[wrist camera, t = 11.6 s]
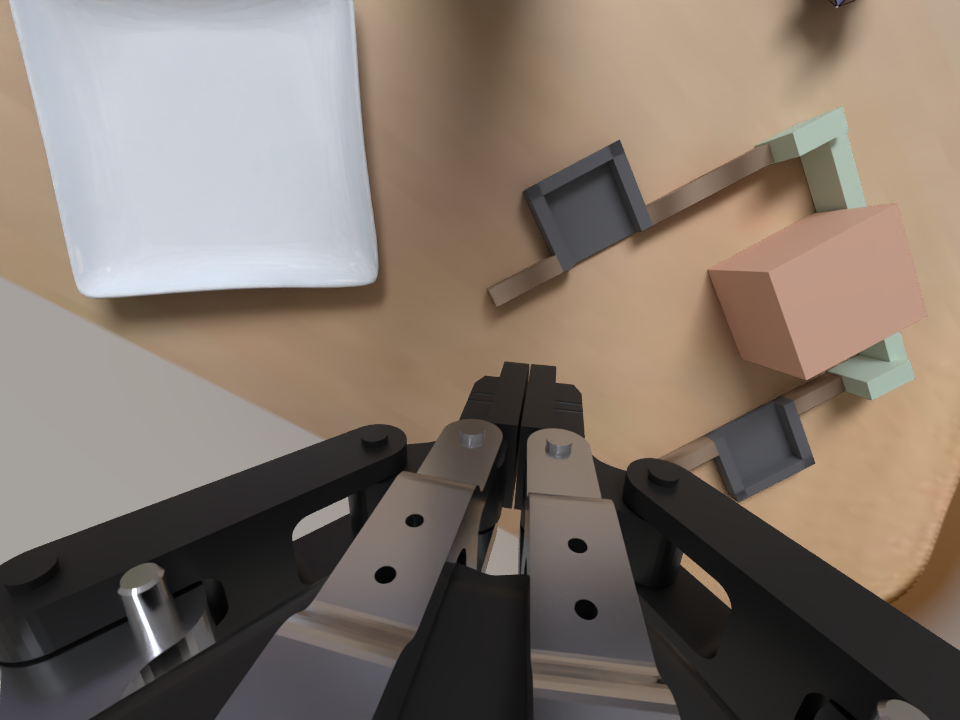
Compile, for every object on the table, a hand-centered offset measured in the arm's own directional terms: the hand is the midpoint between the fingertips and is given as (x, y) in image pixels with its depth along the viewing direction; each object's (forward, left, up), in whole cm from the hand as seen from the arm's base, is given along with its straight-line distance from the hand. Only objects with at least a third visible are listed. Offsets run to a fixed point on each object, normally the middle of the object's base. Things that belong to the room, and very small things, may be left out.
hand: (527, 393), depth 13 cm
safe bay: (-20, +24, -25) cm, 40 cm away
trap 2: (-12, +4, -25) cm, 28 cm away
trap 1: (-3, +30, -25) cm, 39 cm away
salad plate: (0, -22, -26) cm, 33 cm away
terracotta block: (-16, +22, -25) cm, 37 cm away
